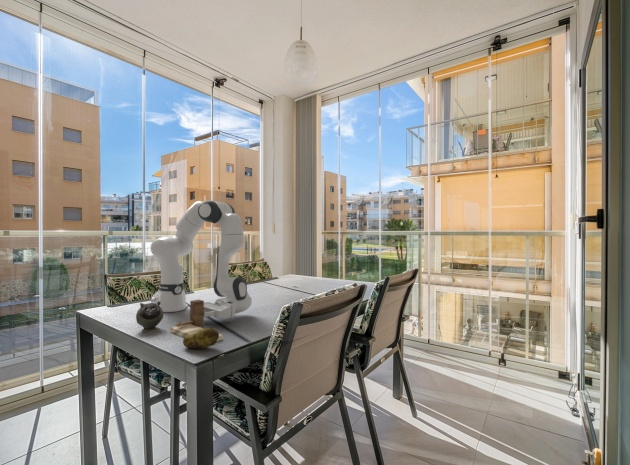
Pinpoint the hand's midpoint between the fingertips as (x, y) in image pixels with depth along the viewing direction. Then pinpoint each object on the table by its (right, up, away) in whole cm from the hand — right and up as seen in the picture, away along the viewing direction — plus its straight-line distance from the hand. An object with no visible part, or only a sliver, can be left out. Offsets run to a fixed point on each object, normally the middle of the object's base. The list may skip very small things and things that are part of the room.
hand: (197, 313), depth 141 cm
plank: (+3, -7, -11) cm, 13 cm away
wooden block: (-2, -6, -3) cm, 8 cm away
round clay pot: (-18, -6, -5) cm, 20 cm away
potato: (+11, -7, -25) cm, 28 cm away
